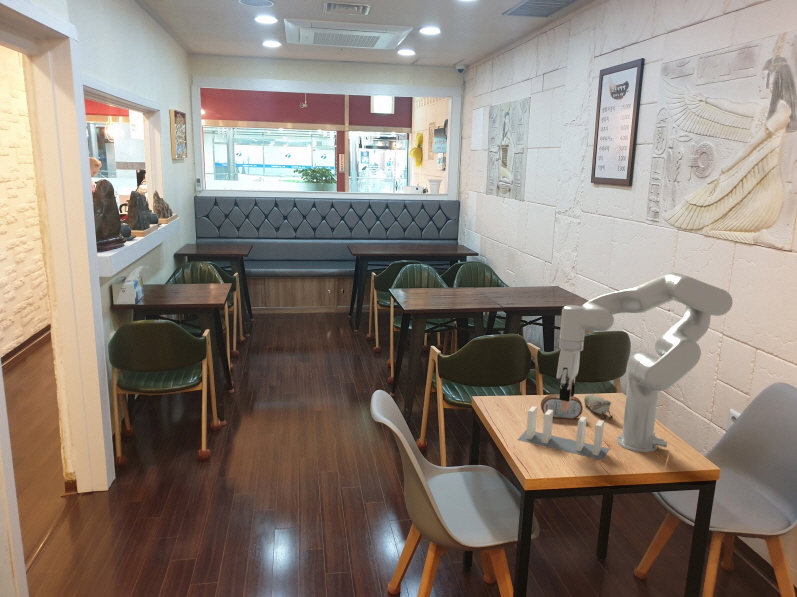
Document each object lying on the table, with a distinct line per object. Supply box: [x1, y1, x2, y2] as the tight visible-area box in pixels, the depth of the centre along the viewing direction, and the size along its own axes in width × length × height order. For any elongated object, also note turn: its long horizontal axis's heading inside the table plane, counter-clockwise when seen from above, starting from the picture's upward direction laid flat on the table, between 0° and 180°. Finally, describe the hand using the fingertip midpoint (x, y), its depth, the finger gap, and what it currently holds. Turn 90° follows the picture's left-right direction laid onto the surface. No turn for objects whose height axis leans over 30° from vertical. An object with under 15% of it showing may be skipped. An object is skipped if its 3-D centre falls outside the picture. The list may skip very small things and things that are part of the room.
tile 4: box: [575, 416, 588, 452], centre depth 195 cm, size 2×5×10 cm, turn 150°
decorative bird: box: [583, 393, 614, 421], centre depth 227 cm, size 5×16×8 cm, turn 14°
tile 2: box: [542, 409, 554, 444], centre depth 200 cm, size 2×5×10 cm, turn 150°
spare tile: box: [561, 378, 572, 412], centre depth 195 cm, size 2×5×10 cm, turn 150°
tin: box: [540, 394, 583, 420], centre depth 222 cm, size 15×3×8 cm, turn 84°
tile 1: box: [526, 405, 538, 440], centre depth 203 cm, size 2×5×10 cm, turn 150°
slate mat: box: [517, 429, 610, 461], centre depth 199 cm, size 28×10×1 cm, turn 60°
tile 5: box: [593, 419, 605, 456], centre depth 192 cm, size 2×5×10 cm, turn 150°
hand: (566, 397), depth 195 cm, fingers closed on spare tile, 4 cm apart
